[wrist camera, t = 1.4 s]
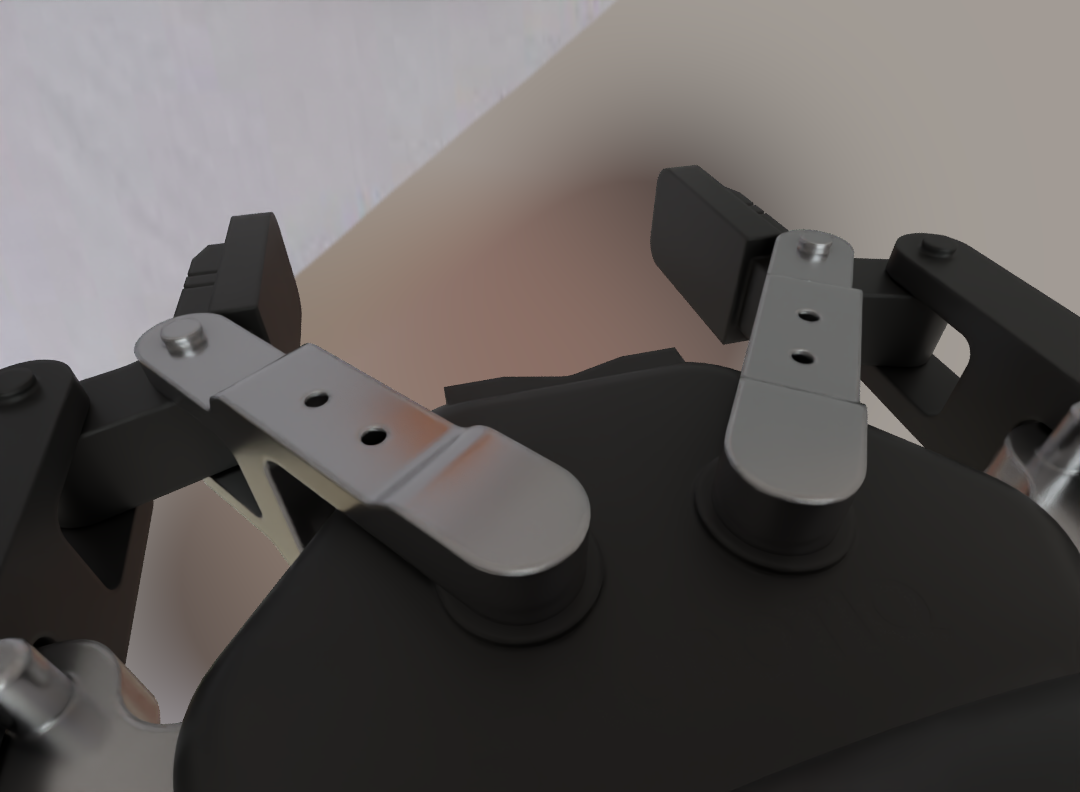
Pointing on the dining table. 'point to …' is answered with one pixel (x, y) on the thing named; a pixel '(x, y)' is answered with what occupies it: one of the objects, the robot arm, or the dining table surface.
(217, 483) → the robot arm
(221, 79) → the dining table surface
